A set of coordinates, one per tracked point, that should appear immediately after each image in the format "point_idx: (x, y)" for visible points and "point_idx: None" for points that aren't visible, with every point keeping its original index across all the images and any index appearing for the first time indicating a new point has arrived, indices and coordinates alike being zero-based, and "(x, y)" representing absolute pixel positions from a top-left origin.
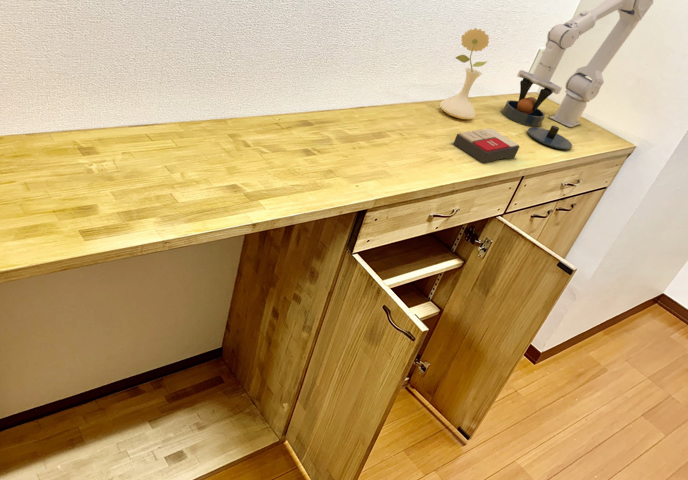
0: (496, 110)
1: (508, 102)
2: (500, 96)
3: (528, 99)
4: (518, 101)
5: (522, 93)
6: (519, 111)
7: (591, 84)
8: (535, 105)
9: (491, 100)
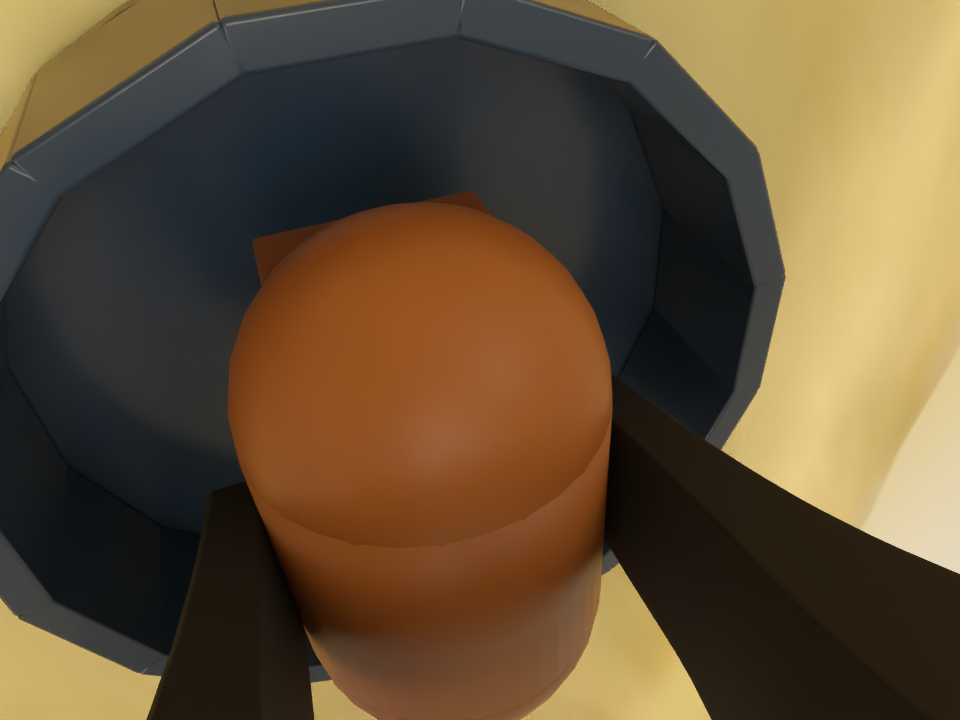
0: (739, 26)
1: (742, 238)
2: (851, 516)
3: (456, 509)
4: (629, 388)
5: (738, 520)
6: (293, 45)
7: None
8: (217, 573)
9: (901, 303)
